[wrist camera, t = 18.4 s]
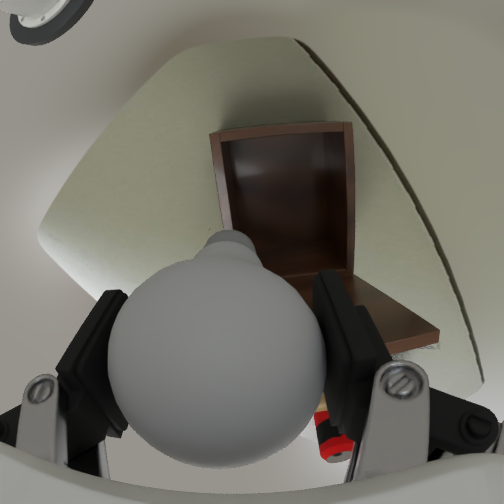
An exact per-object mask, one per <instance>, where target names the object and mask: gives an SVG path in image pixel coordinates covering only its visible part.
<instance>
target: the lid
mask: <svg viewBox="0 0 504 504" xmlns="http://www.w3.org/2000/svg"><path fill="white" fill-rule="evenodd" d="M340 278H341V280H342V282H343V284H344V286H345V288H346V290H347V292H348V294H349V296H350V298H351V300H352V302H353V304H354V306H358V305H364V306H365V307H366V308H367V310H368V312H369V314H370V316H371V318H372V320H373V322H374V323H375V325H376V327H377V329H378V331H379V333H380V335H381V337H382V339H383V341H384V343H385V345H386V347H387V349H388V351H389V353H390V355H391V354H396V353H400V352H404V351H408V350H412V349H416V348H420V347H423V346H427V345H431V344H434V343H438V342H439V334H440V330H439V329H438V328H436V327H435V326H433V325H432V324H430V323H429V322H427V321H426V320H424V319H423V318H421V317H420V316H418V315H417V314H415V313H414V312H412V311H411V310H409V309H408V308H406V307H405V306H403V305H401V304H400V303H398V302H397V301H395V300H394V299H392V298H391V297H389V296H388V295H386V294H384V293H383V292H381V291H380V290H378V289H377V288H375V287H373V286H372V285H370V284H369V283H367V282H366V281H364V280H362V279H361V278H359V277H358V276H356V275H346V276H340ZM288 284H290V285H291V286H292V287H293V288H294V289H296V291H297V292H298V293H299V295H300V296H301V297H302V299H303V300H304V301H305V303H306V304H307V305H308V307H309V308H310V309H311V311H312V280H306V281H298V282H289V283H288ZM326 410H327V405H326V401H325V396H324V392H323V393H322V397H321V401H320V404H319V406H318V407H317V409H316V411H315V412H320V411H326Z"/></svg>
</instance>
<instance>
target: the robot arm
mask: <svg viewBox="0 0 504 504" xmlns="http://www.w3.org/2000/svg"><path fill="white" fill-rule="evenodd" d="M69 1H70V0H0V11H3V12H7V13H11V14H15V15H18V19H19V22H20V24H22V25H23V26H25V27H28V28H36V27H39V26H42V25H44V24H46V23H48V22H49V21H50V20H52V19H53V18H54V17H56V16H57V15H58V14H59V13H60V12H61V11H62V10H63V9H64V8H65V6H66V5H67V4H68V3H69ZM127 299H128V296H127V294H126V293H123V292H122V290H120V289H119V290H106V291H105V292H104V293H103V294H102V296H101V297H100V299H99V300H98V302H97V303H96V305H95V306H94V308H93V309H92V311H91V312H90V314H89V315H88V317H87V318H86V320H85V321H84V323H83V324H82V326H81V327H80V329H79V331H78V332H77V334H76V335H75V337H74V339H73V340H72V342H71V343H70V345H69V346H68V348H67V350H66V352H65V353H64V355H63V356H62V358H61V360H60V362H59V363H58V365H57V366H56V368H55V369H56V371H57V372H58V376H57V378H56V377H54V376H53V375H50V374H42V375H39V376H37V377H35V378H34V379H32V380H31V381H30V383H28V385H27V386H26V388H25V391H24V394H23V399H22V404H21V405H19V406H17V407H15V408H13V409H11V410H9V411H8V412H5V413H4V414H2V415H0V504H504V421H503V422H502V423H499V422H498V420H497V418H496V416H495V414H493V413H492V412H491V411H490V410H489V409H487V408H485V407H483V406H480V405H478V404H475V403H472V402H469V401H466V400H463V399H460V398H458V397H455V396H452V395H449V394H447V393H444V392H441V391H439V390H436V389H433V388H431V387H429V380H428V376H427V374H426V372H425V371H424V369H422V368H421V367H420V366H419V365H417V364H415V363H413V362H411V361H406V360H394V361H393V359H392V357H391V355H390V353H389V351H388V349H387V347H386V345H385V343H384V341H383V339H382V337H381V335H380V333H379V331H378V329H377V327H376V325H375V323H374V322H373V320H372V318H371V316H370V314H369V312H368V310H367V308H366V307H365V306H364V305H358V306H354V304H353V302H352V300H351V298H350V296H349V294H348V292H347V290H346V288H345V286H344V284H343V282H342V280H341V278H340V276H339V274H338V272H337V271H336V269H331V270H322V271H319V272H318V276H313V277H312V312H313V313H314V315H315V316H316V319H317V321H318V324H319V326H320V329H321V331H322V335H323V338H324V341H325V345H326V357H327V376H326V380H325V385H324V389H323V392H324V396H325V401H326V405H327V410H328V414H329V419H330V423H331V426H337V427H338V431H339V434H343V433H346V437H347V438H348V439H350V440H352V441H354V445H353V449H352V453H351V457H350V461H349V465H348V469H347V472H346V476H345V480H344V483H343V484H337V485H331V486H325V487H319V488H313V489H305V490H297V491H288V492H276V493H258V494H210V493H209V494H208V493H193V492H181V491H172V490H163V489H156V488H150V487H143V486H138V485H132V484H127V483H122V482H118V481H113V480H110V474H109V468H108V461H107V454H106V446H105V437H106V435H107V436H110V437H115V438H121V436H122V433H123V431H125V430H126V429H127V427H128V424H129V423H128V422H127V420H126V418H125V417H124V415H123V413H122V412H121V410H120V408H119V406H118V404H117V403H116V400H115V397H114V394H113V391H112V388H111V384H110V380H109V376H108V344H109V339H110V335H111V331H112V327H113V325H114V322H115V320H116V317H117V315H118V313H119V311H120V310H121V308H122V306H123V304H124V303H125V301H126V300H127Z"/></svg>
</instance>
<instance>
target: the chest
mask: <svg viewBox="0 0 504 504" xmlns="http://www.w3.org/2000/svg"><path fill="white" fill-rule="evenodd" d="M209 137H210V144H211V151H212V157H213V164H214V171H215V177H216V184H217V190H218V197H219V203H220V209H221V216H222V222H223V228H224V230H236V231H239V232H242V233H243V234H245V235H246V236H247V237H249V238H250V240H251V241H252V243H253V245H254V247H255V251H256V254H257V257H258V258H259V259H260V261H261V263H262V265H263V268H265V269H267V270H269V271H271V272H272V273H274V274H276V275H278V276H280V277H281V278H283V279H284V280H285V281H286V282H287V283H289V282H298V281H306V280H312V277H313V276H318V272H319V271H322V270H331V269H336V271H337V272H338V274H339V276H346V275H353V272H354V250H355V165H354V143H353V128H352V122H343V121H309V122H293V123H280V124H268V125H258V126H249V127H241V128H233V129H226V130H219V131H216V132H213V133H210V134H209Z"/></svg>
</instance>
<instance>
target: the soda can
mask: <svg viewBox="0 0 504 504" xmlns="http://www.w3.org/2000/svg"><path fill="white" fill-rule="evenodd" d="M314 420H315V426H316V431H317V437H318V443H319V449H320V455H321V457H322V458H323V459H325V460H326V461H327V462H329V463H337V462H342V461H345V460H348V459H350V457H351V453H352V449H353V445H354V441H352V440H350V439H348V438H347V437H346V433H343V434H339V431H338V427H337V426H331V423H330V419H329V414H328V410H326V411H320V412H315V414H314Z"/></svg>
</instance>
